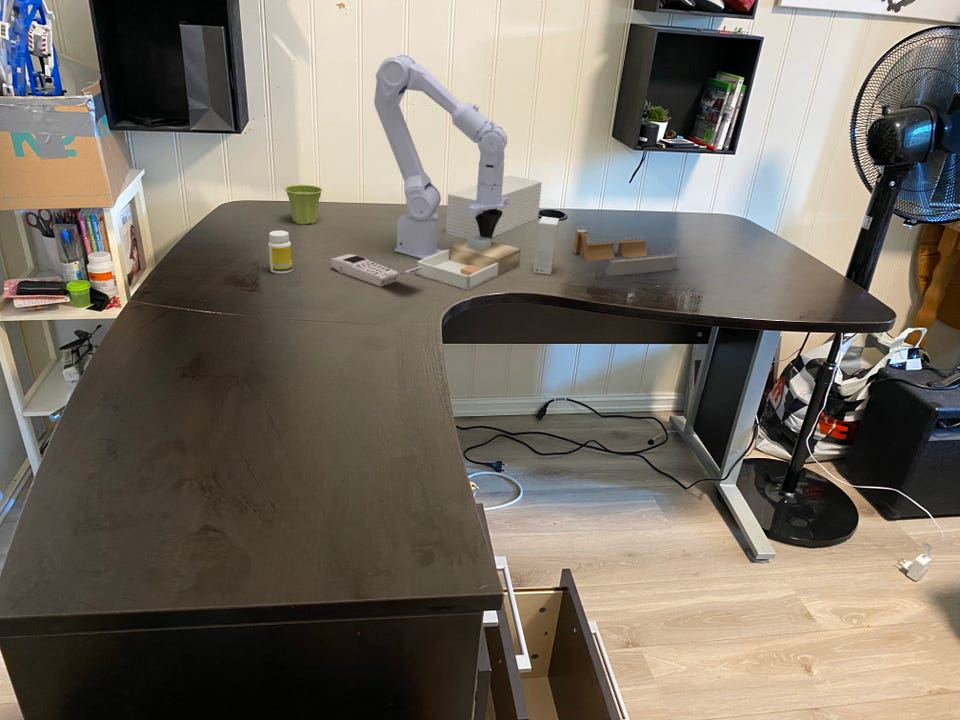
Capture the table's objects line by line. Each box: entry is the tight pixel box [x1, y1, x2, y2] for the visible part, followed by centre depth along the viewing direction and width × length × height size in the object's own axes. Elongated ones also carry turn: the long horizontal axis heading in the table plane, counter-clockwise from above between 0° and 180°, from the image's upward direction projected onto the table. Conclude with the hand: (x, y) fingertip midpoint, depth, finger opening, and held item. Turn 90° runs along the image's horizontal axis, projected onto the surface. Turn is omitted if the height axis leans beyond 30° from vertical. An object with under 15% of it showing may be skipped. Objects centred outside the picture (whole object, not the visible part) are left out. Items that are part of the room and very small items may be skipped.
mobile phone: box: [330, 253, 424, 288], centre depth 152 cm, size 6×6×25 cm
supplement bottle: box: [267, 230, 293, 275], centre depth 152 cm, size 5×5×8 cm
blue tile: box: [467, 235, 492, 251], centre depth 164 cm, size 4×4×2 cm
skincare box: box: [532, 215, 560, 276], centre depth 163 cm, size 6×4×12 cm
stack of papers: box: [445, 175, 543, 240], centre depth 194 cm, size 32×11×11 cm, turn 148°
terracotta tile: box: [460, 265, 484, 276], centre depth 156 cm, size 4×4×2 cm
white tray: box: [415, 249, 498, 291], centre depth 158 cm, size 14×12×3 cm
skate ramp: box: [572, 225, 678, 277], centre depth 178 cm, size 29×35×8 cm
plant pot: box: [284, 184, 323, 225], centre depth 185 cm, size 9×9×9 cm
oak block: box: [449, 239, 522, 277], centre depth 166 cm, size 13×10×4 cm
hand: (485, 240), depth 167 cm, fingers closed
